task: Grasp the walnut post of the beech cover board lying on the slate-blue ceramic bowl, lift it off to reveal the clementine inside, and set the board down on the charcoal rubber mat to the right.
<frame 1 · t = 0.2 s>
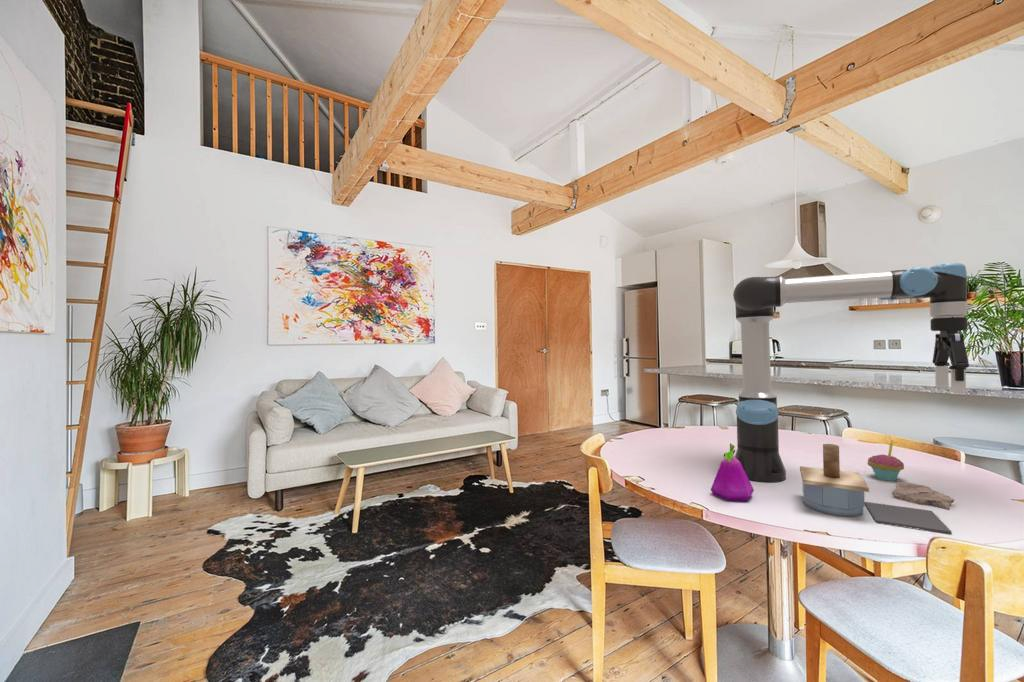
hand: (949, 390, 123), 28 cm above the table, fingers open, 13 cm apart
bowl: (832, 506, 111), on the table
purple eggplant: (732, 496, 120), on the table
cover board: (831, 479, 111), point 7 cm above the table, touching bowl
cupcake: (885, 479, 131), on the table
clementine: (832, 499, 111), point 2 cm above the table, touching bowl
mat: (904, 517, 103), on the table
stone: (920, 501, 114), on the table
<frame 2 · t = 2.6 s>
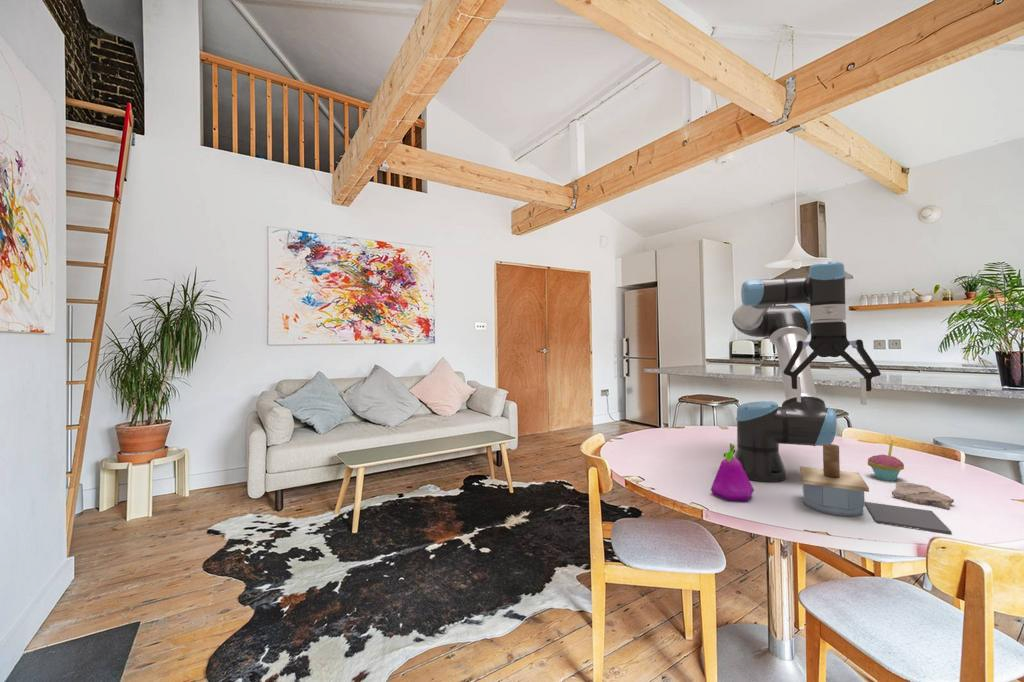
hand: (830, 402, 111), 27 cm above the table, fingers open, 13 cm apart
nothing on the table moved.
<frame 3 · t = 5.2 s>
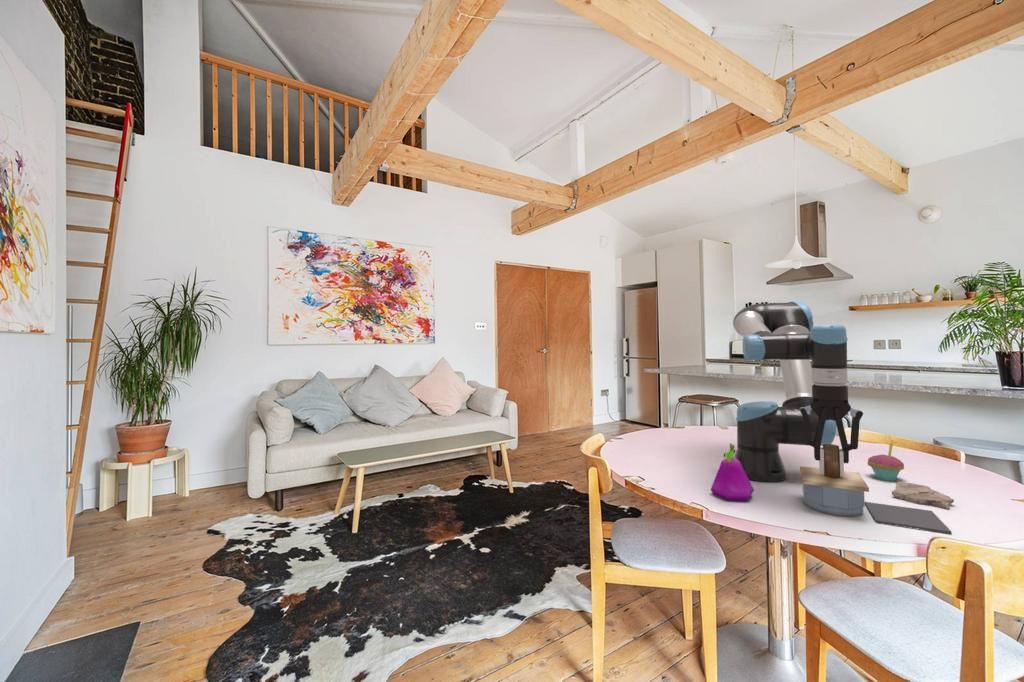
hand: (831, 473, 111), 9 cm above the table, fingers closed on cover board, 3 cm apart
cover board: (831, 479, 111), point 7 cm above the table, touching gripper
everything else where it was.
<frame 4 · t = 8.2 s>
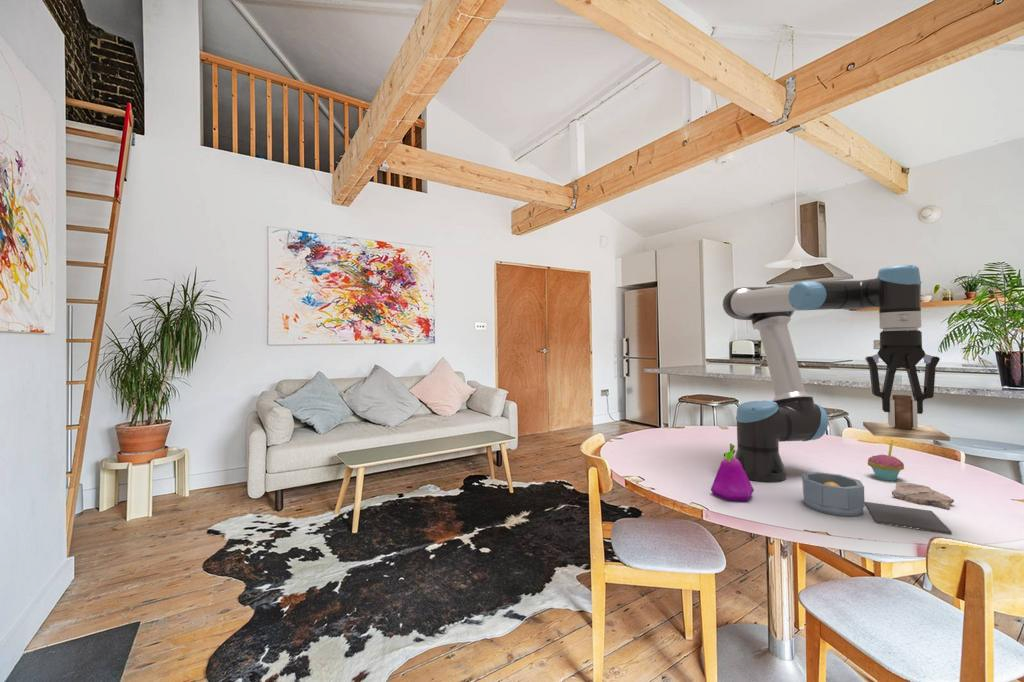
hand: (902, 426, 103), 22 cm above the table, fingers closed on cover board, 3 cm apart
cover board: (902, 432, 103), point 21 cm above the table, touching gripper
everything else where it was.
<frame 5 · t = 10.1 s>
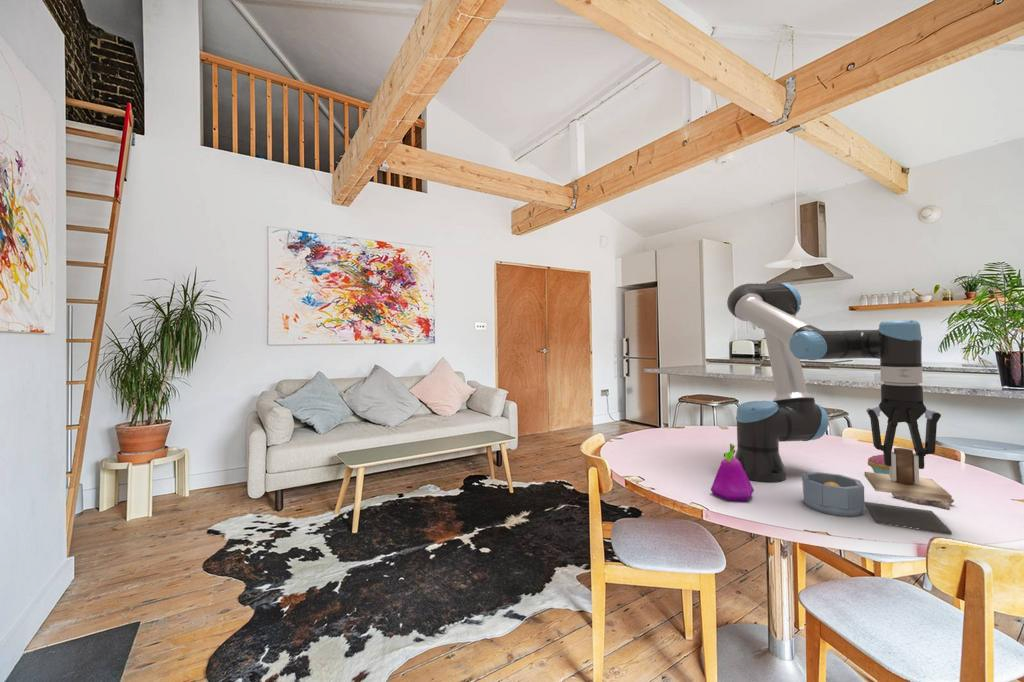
hand: (904, 480, 103), 9 cm above the table, fingers closed on cover board, 3 cm apart
cover board: (904, 486, 103), point 8 cm above the table, touching gripper
everything else where it was.
when the fingers open (4 cm above the table, at t = 11.5 s): cover board drops 2 cm, resting on mat.
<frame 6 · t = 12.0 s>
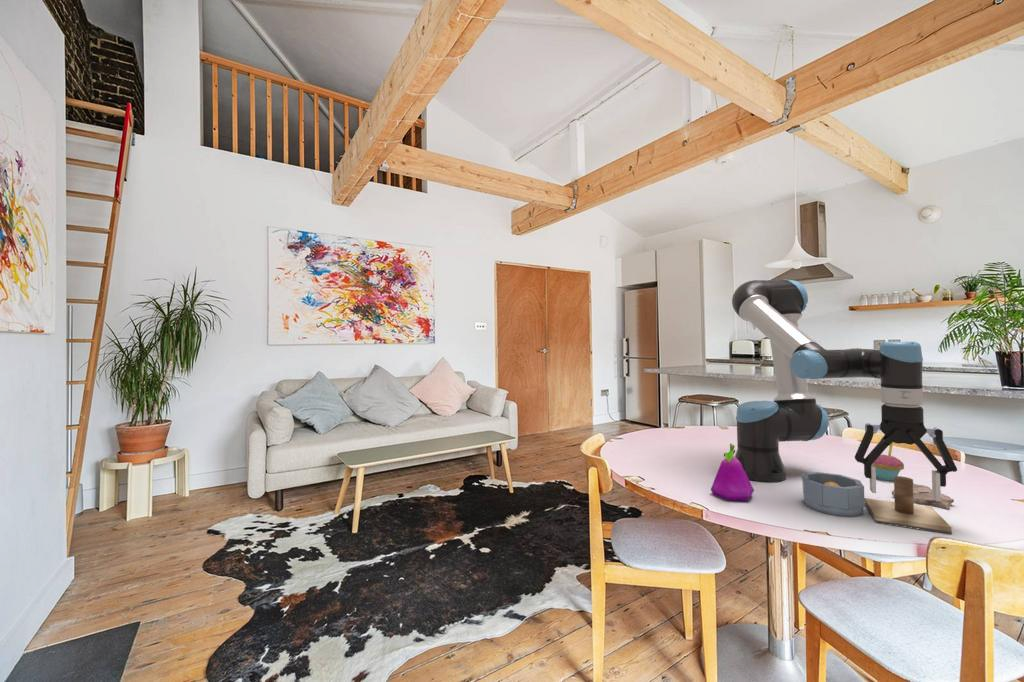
hand: (903, 495, 103), 5 cm above the table, fingers open, 11 cm apart
cover board: (904, 515, 103), point 1 cm above the table, touching mat
everything else where it was.
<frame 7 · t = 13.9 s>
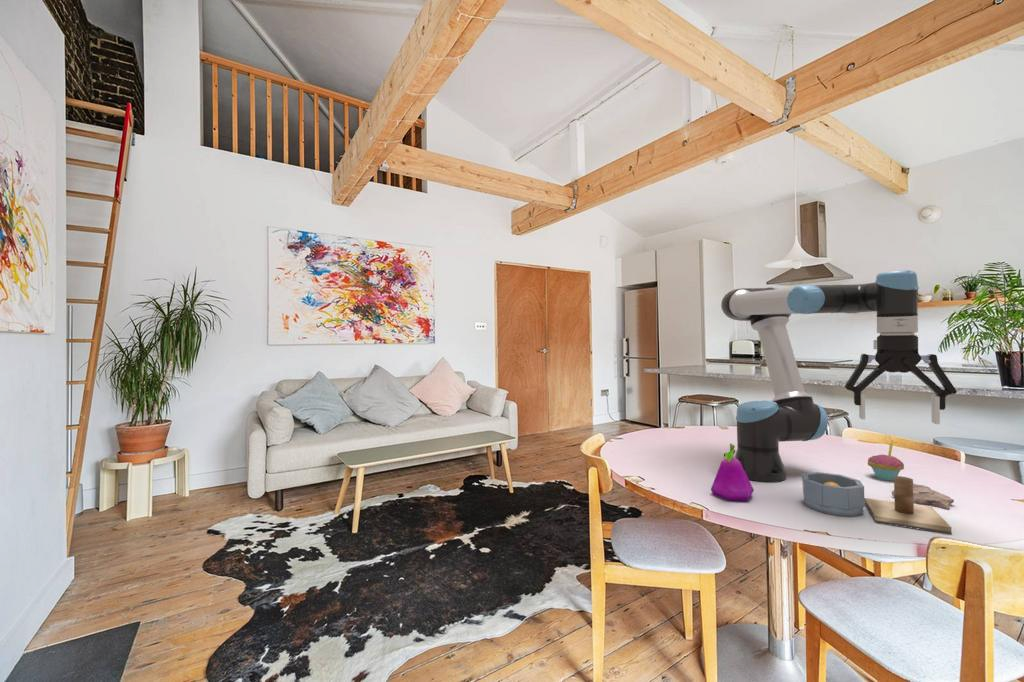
hand: (897, 420, 104), 23 cm above the table, fingers open, 13 cm apart
nothing on the table moved.
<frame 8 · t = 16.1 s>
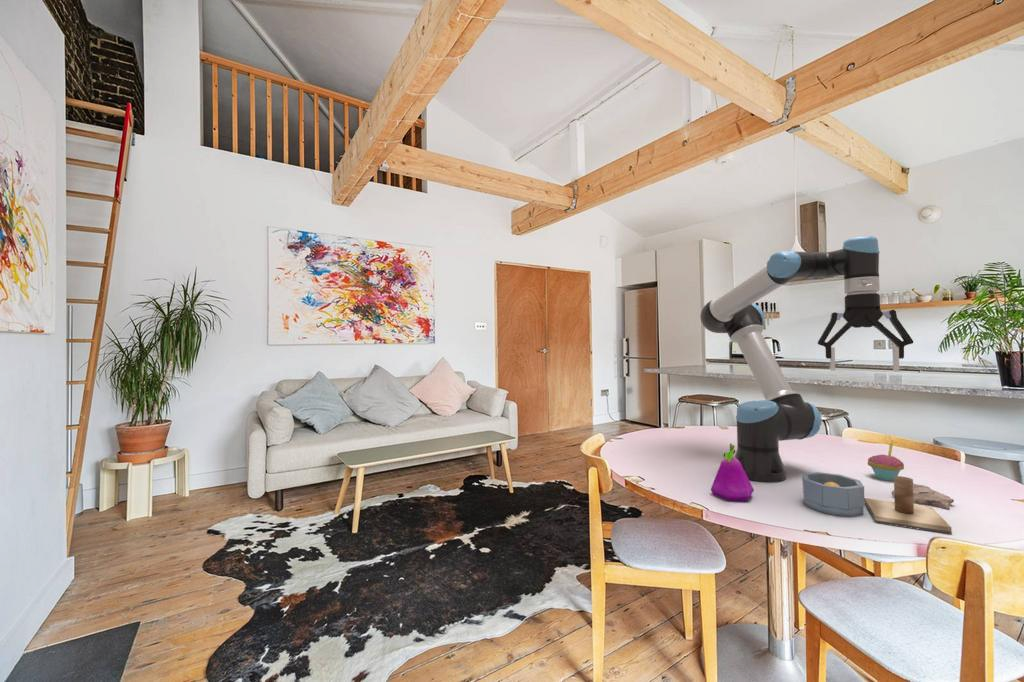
hand: (863, 370, 117), 35 cm above the table, fingers open, 13 cm apart
nothing on the table moved.
at the end: cover board inside the target area on the mat (0.1 cm from its centre), point 0.6 cm above the mat's base; cover board touching mat; the gripper is holding nothing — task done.
